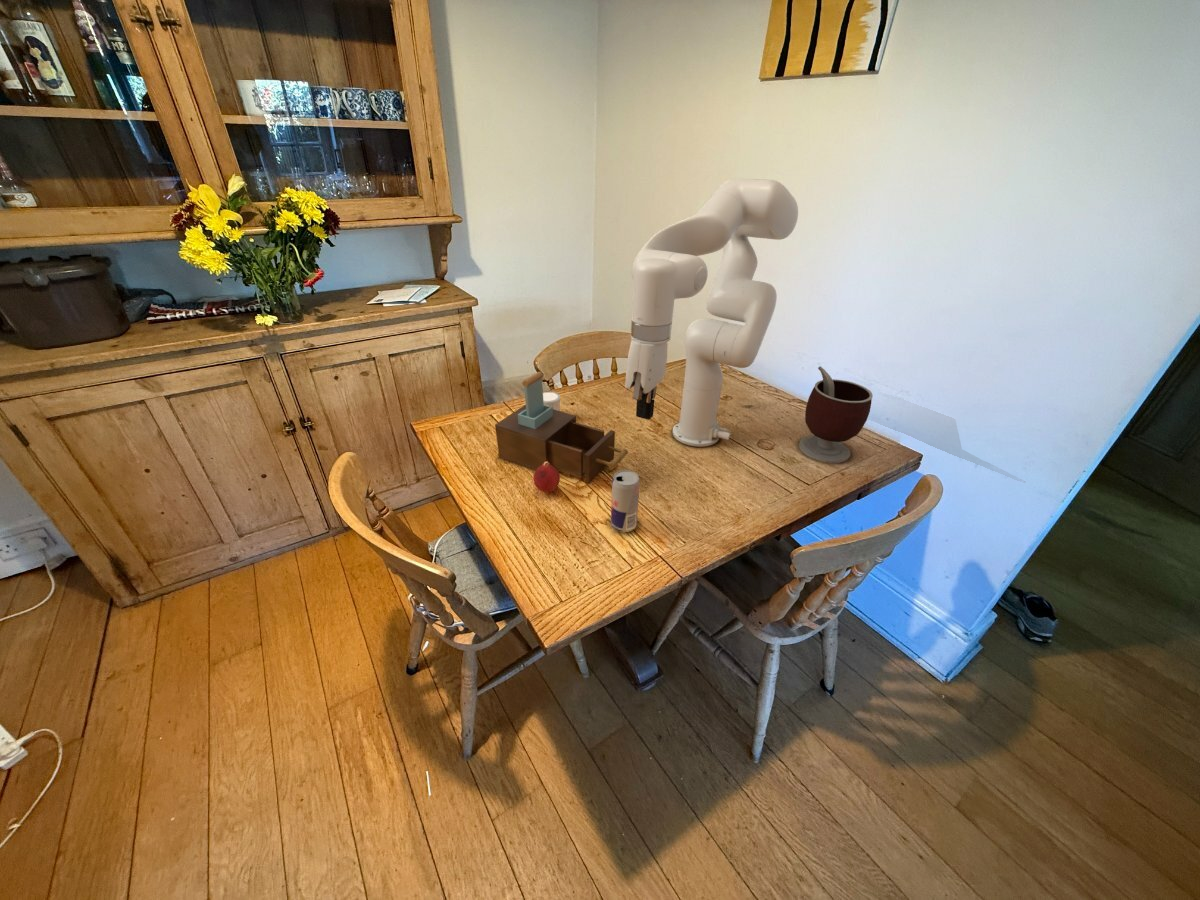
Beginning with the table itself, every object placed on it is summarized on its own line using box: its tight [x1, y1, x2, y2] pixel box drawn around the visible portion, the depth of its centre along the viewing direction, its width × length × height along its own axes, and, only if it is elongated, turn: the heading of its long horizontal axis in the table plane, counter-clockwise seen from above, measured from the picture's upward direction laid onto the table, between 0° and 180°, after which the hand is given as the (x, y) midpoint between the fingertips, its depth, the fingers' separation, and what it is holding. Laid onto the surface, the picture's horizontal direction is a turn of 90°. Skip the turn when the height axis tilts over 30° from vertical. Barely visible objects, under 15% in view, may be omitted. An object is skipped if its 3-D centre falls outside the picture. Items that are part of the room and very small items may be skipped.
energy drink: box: [610, 469, 641, 533], centre depth 92 cm, size 5×5×12 cm
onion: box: [533, 461, 561, 493], centre depth 102 cm, size 6×6×8 cm
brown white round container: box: [543, 391, 561, 411], centre depth 131 cm, size 7×7×7 cm
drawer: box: [547, 421, 629, 485], centre depth 109 cm, size 18×12×8 cm
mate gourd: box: [798, 365, 873, 464], centre depth 115 cm, size 16×14×20 cm
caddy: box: [518, 371, 553, 429], centre depth 109 cm, size 5×8×12 cm, turn 151°
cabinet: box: [494, 404, 577, 471], centre depth 115 cm, size 15×14×10 cm
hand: (644, 416), depth 96 cm, fingers closed
